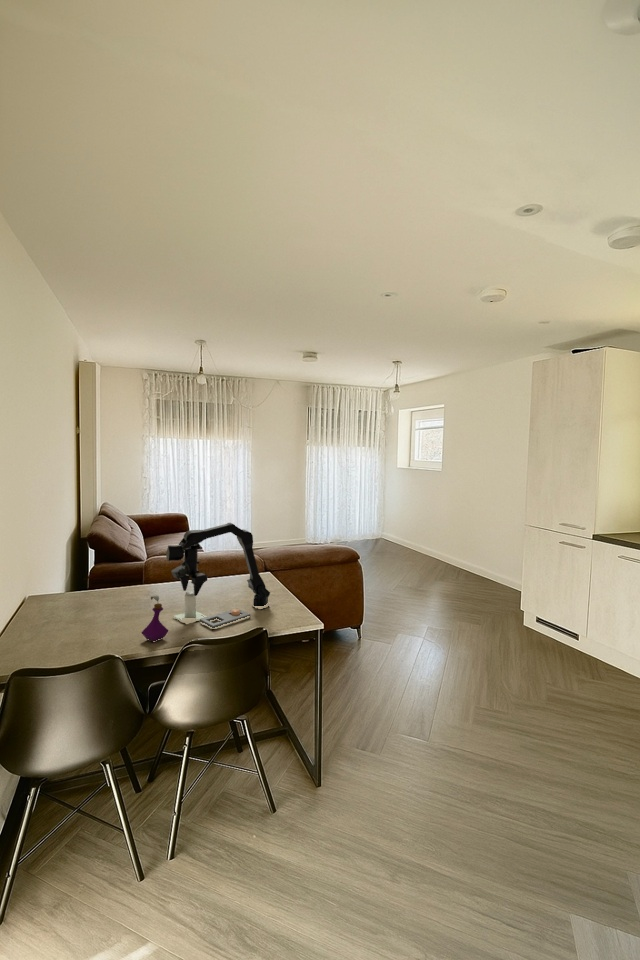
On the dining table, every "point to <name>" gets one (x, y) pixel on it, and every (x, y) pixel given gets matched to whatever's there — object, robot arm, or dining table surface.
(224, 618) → the dark grey base plate
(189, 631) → the dining table surface
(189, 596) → the cylinder
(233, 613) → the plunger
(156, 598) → the perfume bottle
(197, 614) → the sage pad
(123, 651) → the dining table surface
